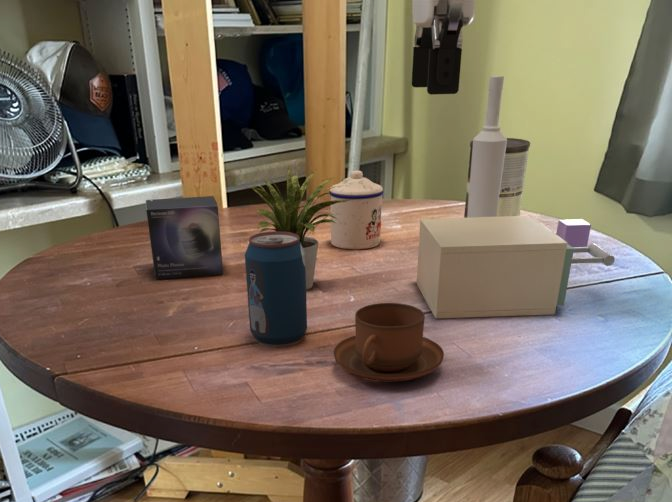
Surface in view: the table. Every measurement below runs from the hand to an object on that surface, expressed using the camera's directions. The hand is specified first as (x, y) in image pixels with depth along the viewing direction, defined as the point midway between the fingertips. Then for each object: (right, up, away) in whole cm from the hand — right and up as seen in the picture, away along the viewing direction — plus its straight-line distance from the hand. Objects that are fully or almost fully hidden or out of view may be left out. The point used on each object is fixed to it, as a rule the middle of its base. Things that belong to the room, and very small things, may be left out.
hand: (433, 90), depth 77 cm
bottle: (+15, -4, +42) cm, 44 cm away
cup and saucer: (-5, -31, +1) cm, 31 cm away
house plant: (-16, -15, +25) cm, 33 cm away
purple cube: (+30, -4, +40) cm, 50 cm away
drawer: (+15, -17, +19) cm, 30 cm away
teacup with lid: (-5, -1, +46) cm, 46 cm away
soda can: (-17, -26, +9) cm, 32 cm away
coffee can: (+20, +5, +54) cm, 58 cm away
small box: (-33, -10, +33) cm, 47 cm away
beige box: (+10, -18, +20) cm, 28 cm away
